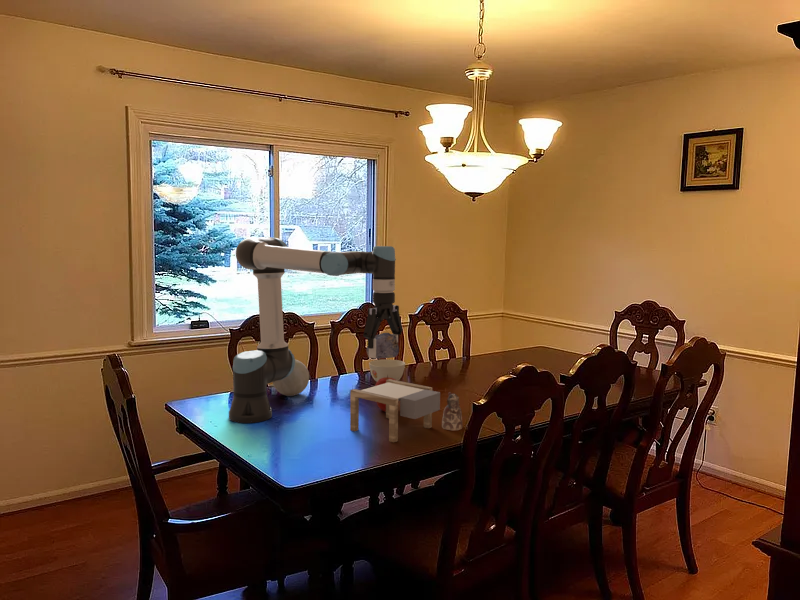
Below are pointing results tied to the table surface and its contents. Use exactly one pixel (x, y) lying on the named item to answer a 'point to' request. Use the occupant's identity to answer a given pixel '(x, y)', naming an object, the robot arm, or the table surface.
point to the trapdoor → (410, 399)
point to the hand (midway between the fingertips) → (383, 355)
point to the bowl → (386, 369)
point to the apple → (379, 382)
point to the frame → (390, 408)
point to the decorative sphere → (294, 381)
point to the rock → (385, 346)
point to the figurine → (452, 414)
